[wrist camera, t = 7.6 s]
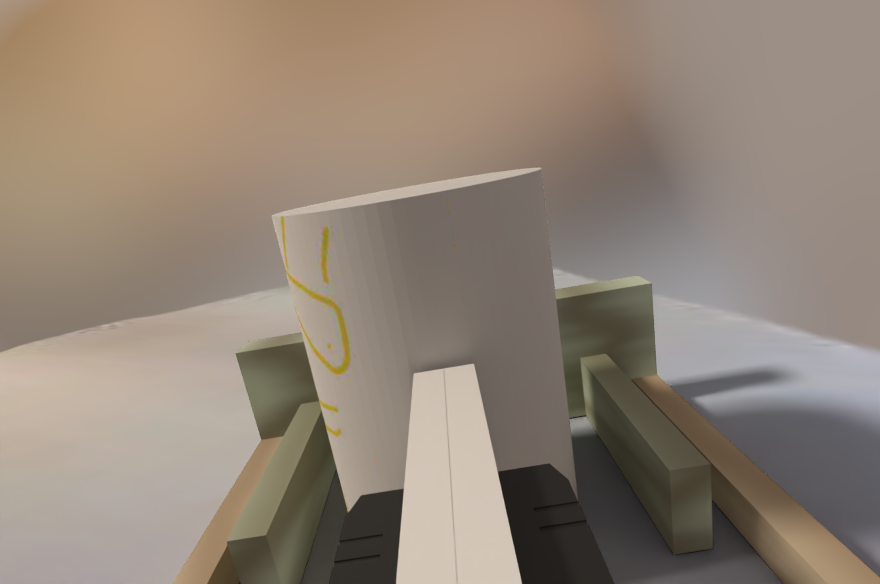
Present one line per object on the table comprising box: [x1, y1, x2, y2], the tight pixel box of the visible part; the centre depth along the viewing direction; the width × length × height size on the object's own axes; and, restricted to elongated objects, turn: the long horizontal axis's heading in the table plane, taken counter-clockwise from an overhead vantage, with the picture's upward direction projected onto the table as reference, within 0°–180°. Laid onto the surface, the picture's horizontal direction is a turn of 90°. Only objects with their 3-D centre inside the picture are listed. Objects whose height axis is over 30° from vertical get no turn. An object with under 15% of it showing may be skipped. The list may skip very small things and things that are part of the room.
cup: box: [272, 168, 579, 512], centre depth 16 cm, size 8×8×12 cm
